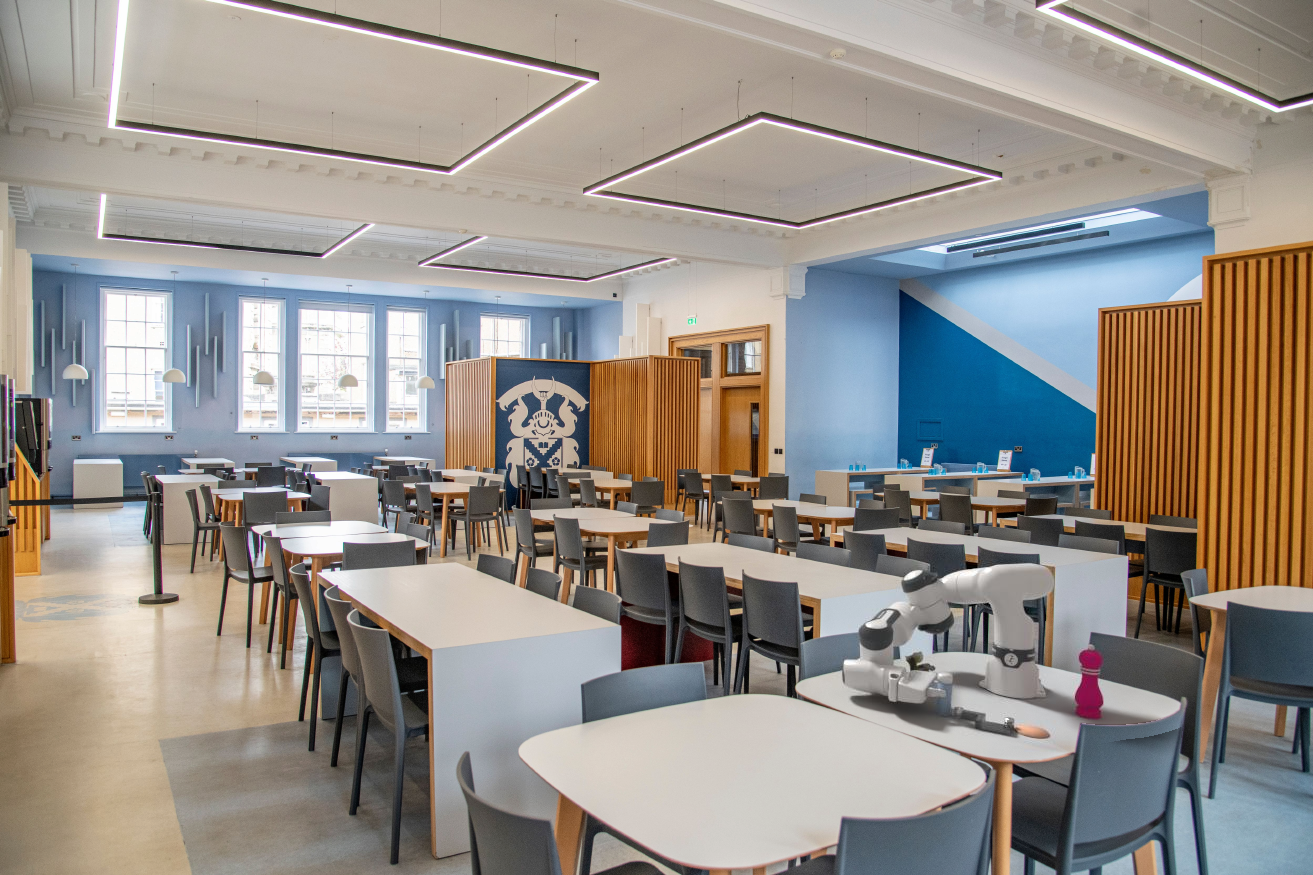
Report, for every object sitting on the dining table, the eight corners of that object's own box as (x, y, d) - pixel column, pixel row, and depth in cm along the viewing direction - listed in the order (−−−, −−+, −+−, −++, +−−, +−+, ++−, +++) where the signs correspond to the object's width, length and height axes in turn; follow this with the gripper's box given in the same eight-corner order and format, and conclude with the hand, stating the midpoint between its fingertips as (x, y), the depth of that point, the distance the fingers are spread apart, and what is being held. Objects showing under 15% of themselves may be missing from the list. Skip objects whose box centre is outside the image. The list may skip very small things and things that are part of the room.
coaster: (1016, 724, 222) (1017, 722, 221) (1049, 730, 218) (1049, 729, 218) (1013, 733, 215) (1013, 731, 215) (1047, 740, 211) (1047, 738, 211)
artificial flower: (861, 676, 265) (862, 644, 268) (926, 684, 268) (927, 652, 270) (872, 677, 256) (873, 644, 259) (939, 685, 259) (940, 652, 262)
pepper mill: (1106, 720, 226) (1109, 648, 226) (1078, 718, 228) (1081, 646, 228) (1098, 711, 234) (1100, 642, 233) (1070, 709, 235) (1073, 640, 235)
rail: (954, 714, 228) (955, 705, 228) (1015, 726, 220) (1015, 717, 220) (949, 723, 221) (950, 714, 221) (1011, 735, 213) (1011, 726, 213)
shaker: (937, 710, 231) (939, 671, 231) (952, 713, 229) (953, 673, 229) (934, 714, 227) (936, 674, 227) (949, 717, 225) (951, 677, 225)
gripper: (905, 683, 243) (954, 692, 237) (888, 702, 226) (940, 712, 219) (906, 662, 243) (954, 670, 236) (889, 679, 226) (941, 689, 219)
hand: (947, 690), depth 227 cm, fingers closed on shaker, 4 cm apart
